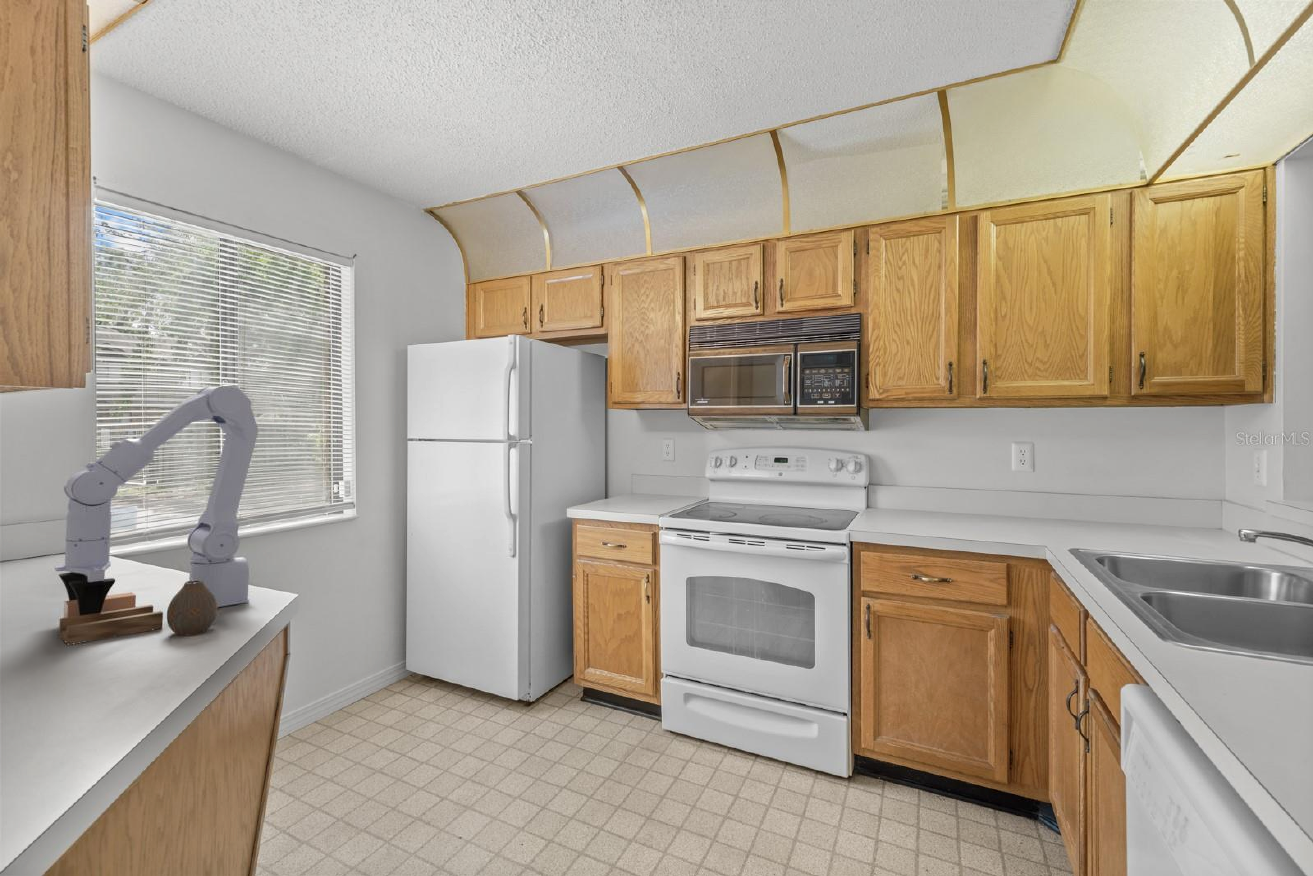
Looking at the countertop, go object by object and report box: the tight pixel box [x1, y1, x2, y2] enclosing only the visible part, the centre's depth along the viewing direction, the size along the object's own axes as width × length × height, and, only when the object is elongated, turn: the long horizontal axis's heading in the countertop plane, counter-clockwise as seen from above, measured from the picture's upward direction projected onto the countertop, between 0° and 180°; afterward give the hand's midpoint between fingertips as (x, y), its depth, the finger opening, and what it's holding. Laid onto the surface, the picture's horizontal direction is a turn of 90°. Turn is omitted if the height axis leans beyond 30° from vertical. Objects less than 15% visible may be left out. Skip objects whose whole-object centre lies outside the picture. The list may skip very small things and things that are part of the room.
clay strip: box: [63, 592, 137, 618], centre depth 107 cm, size 9×3×4 cm, turn 143°
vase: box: [166, 580, 218, 636], centre depth 104 cm, size 7×7×9 cm
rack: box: [58, 604, 164, 645], centre depth 102 cm, size 12×7×3 cm, turn 143°
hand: (85, 615), depth 105 cm, fingers open, 7 cm apart
